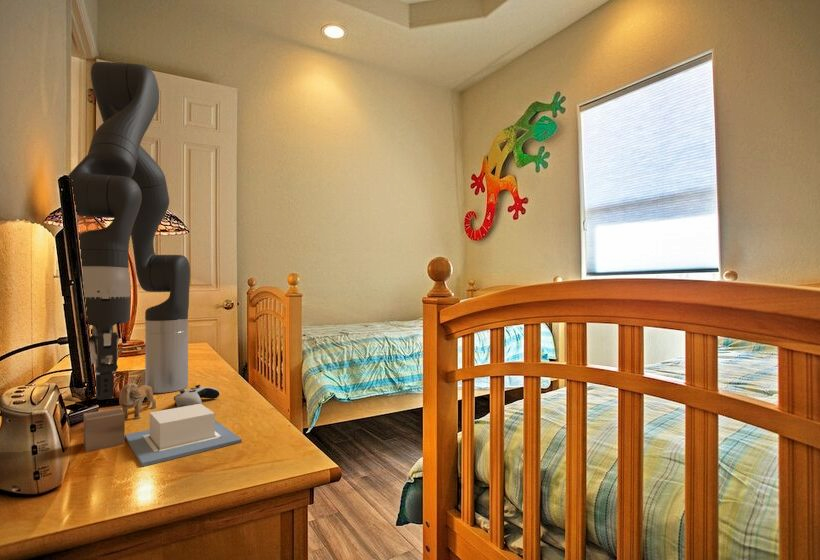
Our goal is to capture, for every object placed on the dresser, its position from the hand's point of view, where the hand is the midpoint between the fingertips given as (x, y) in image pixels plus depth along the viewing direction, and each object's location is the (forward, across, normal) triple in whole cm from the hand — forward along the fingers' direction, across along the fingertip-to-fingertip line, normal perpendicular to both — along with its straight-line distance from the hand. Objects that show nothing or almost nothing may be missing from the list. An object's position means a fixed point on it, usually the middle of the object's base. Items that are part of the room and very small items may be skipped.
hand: (101, 394), depth 70 cm
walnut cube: (+8, 0, 0) cm, 8 cm away
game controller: (+8, -13, +20) cm, 25 cm away
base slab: (+8, +7, +10) cm, 15 cm away
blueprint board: (+8, +7, +10) cm, 15 cm away
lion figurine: (+8, -15, +7) cm, 19 cm away
